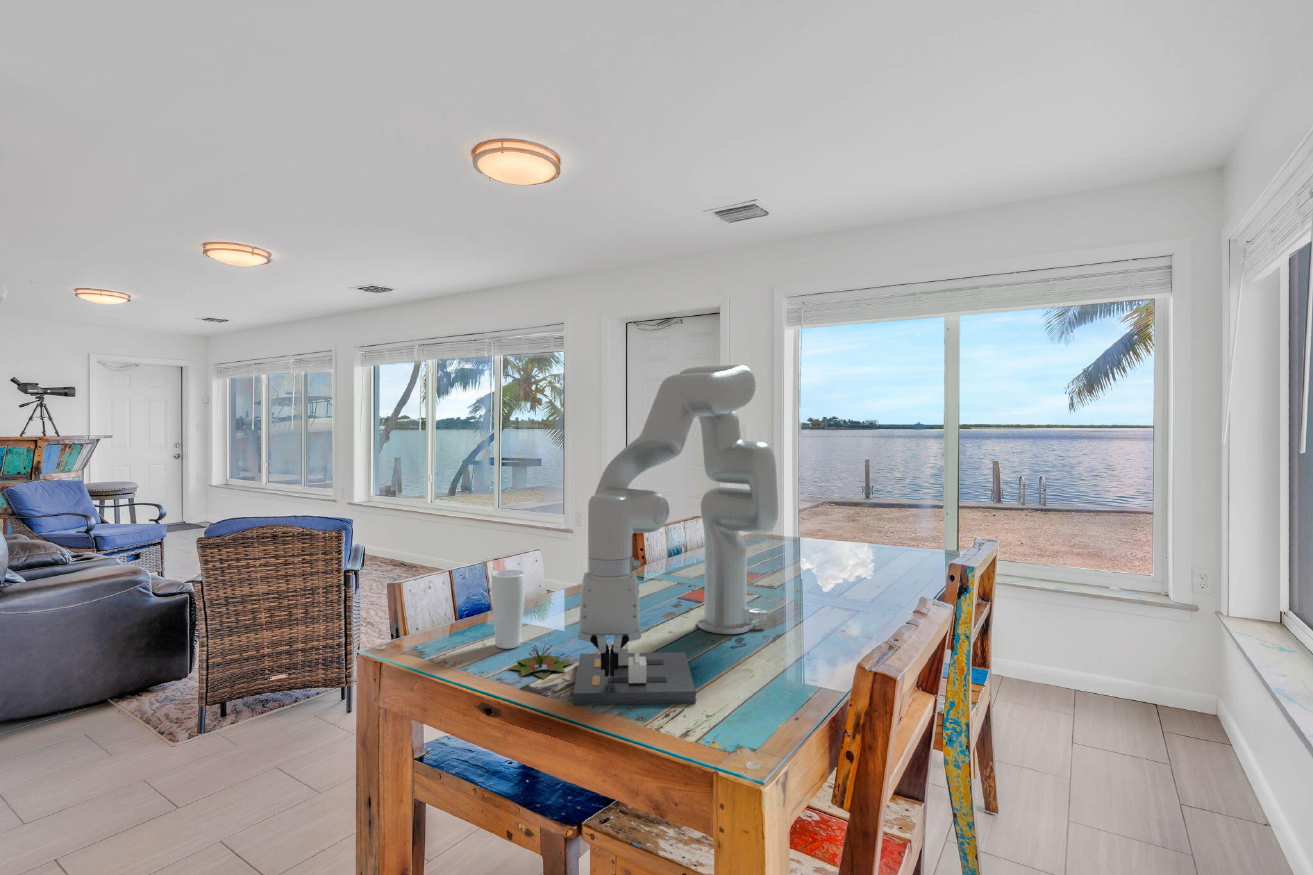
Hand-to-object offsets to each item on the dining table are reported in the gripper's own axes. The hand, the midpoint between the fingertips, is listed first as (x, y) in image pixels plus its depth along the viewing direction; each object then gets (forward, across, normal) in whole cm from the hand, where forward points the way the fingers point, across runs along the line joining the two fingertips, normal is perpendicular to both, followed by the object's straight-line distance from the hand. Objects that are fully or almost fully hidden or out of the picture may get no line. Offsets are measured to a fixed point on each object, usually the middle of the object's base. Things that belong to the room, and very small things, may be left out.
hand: (609, 673), depth 109 cm
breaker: (+1, -2, -8) cm, 8 cm away
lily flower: (+4, +13, -12) cm, 18 cm away
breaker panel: (+3, -4, -4) cm, 7 cm away
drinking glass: (+3, +21, -24) cm, 32 cm away
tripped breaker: (+1, -5, 0) cm, 5 cm away
